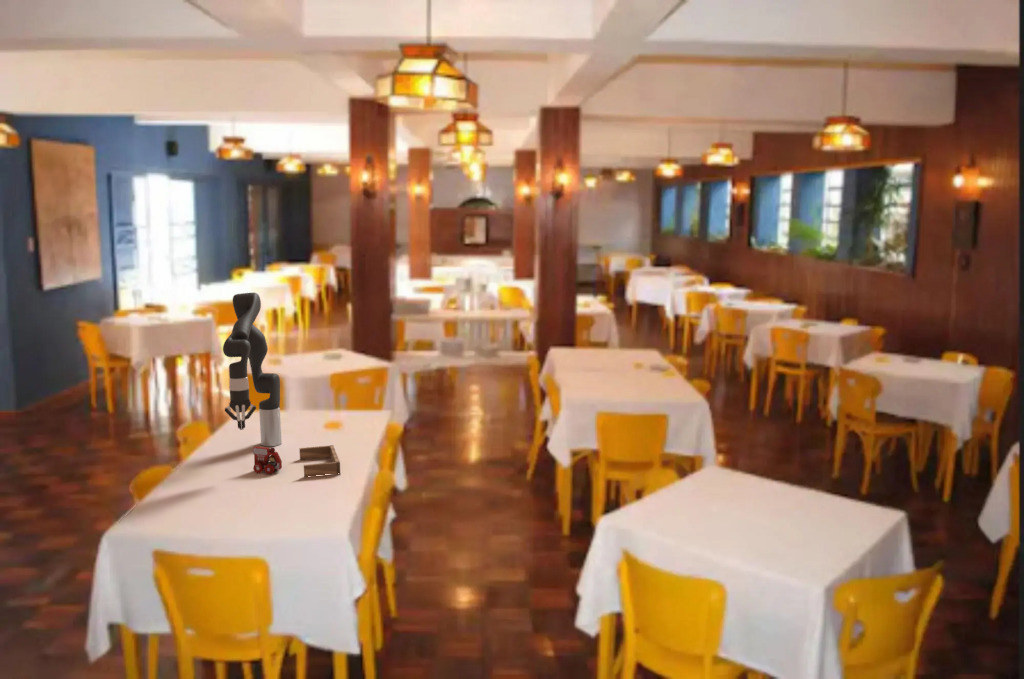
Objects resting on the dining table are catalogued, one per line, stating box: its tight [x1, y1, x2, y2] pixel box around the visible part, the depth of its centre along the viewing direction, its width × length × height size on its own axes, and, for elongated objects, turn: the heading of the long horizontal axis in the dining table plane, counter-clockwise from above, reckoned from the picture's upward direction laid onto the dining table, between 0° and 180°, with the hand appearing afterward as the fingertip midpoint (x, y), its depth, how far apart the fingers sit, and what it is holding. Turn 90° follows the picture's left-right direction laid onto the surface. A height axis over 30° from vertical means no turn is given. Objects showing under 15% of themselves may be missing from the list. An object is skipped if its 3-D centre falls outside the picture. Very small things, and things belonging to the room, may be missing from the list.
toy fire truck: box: [252, 446, 283, 475], centre depth 378 cm, size 7×12×10 cm, turn 74°
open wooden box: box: [299, 444, 341, 478], centre depth 385 cm, size 27×14×5 cm, turn 17°
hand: (241, 429), depth 373 cm, fingers closed
